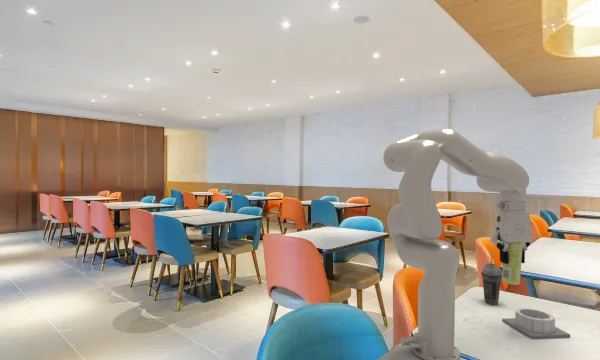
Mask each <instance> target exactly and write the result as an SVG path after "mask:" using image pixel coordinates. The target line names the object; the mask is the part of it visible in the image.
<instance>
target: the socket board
mask: <svg viewBox="0 0 600 360" xmlns="http://www.w3.org/2000/svg"><path fill="white" fill-rule="evenodd" d="M514 315H515V316H514V317H515V318H514V317H513V318H512V317H511V318H510V317H508V318H501V322H502V323H504V324H505V325H507V326H509V327H510V328H512V329H514V330H516V331H517V332H518V333H520V334H522V335H524V336H525V337H527V338H529V339H530V340H542V339H565V338H566V339H567V338H568V339H569V338H571V334H570V333H569V332H567V331H565V330H563V329H560V328H558V327H557V326H556V318H555V316H554V315H553V314H551V313H550V312H547V311H545V310H541V309H538V308H531V307H518V308H517V309H515V313H514Z"/></svg>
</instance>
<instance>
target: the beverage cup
mask: <svg viewBox="0 0 600 360" xmlns="http://www.w3.org/2000/svg"><path fill="white" fill-rule="evenodd" d="M481 279H482V286H483V287H482V288H483V298H484V299H483V300H484V304H486V305H489V306H498V305H499V299H500V290H501V282H502V270H501V268H500V266H498V265H497V264H495V263H493V251H490V263H487V264H484V266H483V267H482V269H481Z"/></svg>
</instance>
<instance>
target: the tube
mask: <svg viewBox="0 0 600 360" xmlns="http://www.w3.org/2000/svg"><path fill="white" fill-rule="evenodd" d="M503 245H504V243H503ZM522 249H523V242H521V243H509V244H508V248H507V251H508V252H509V263H508V264H505V263H502V262H501V267H502V270H501V272H502V279H501V281H502V282H503V283H505V284H508V285H512V286H513V285H515V286H519V285H520V284H521V275H522V274H521V273H522V271H521V270H522V263H521V260H522Z"/></svg>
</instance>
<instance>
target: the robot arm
mask: <svg viewBox="0 0 600 360" xmlns="http://www.w3.org/2000/svg"><path fill="white" fill-rule="evenodd" d="M441 161H443V162H444V163H446V164H448V165H449V166H451V167H452V168H454V169H455V170H456V171H458V172H460V173H461V174H463V175H467V176H473V177H476V184H477V186H478V187H479V188H480V190H482V191H485V192H490V193H498V198H499V199H498V203H496V204H495V205H496V208H498V210H497V212H496V217H495V222H494V224H495V225H494V234H493V235H492V237H491V238H490V242H491V243H492V244H493V245H494V246H495V247H496V248H497V249H498V251H499V262H500V263H501V264H502V263H505V264H508V263H509V252H508V251H507V248H508V244H509V243H521V242H523V249H522V260H521V264H525V262H526V261H525V260H526V257H525V256H526V252H527V250H528V247H530V245H531V244H532V243H533V242H534V241H535V238H534V237H533V232H532V231H533V230H532V222H531V221H532V220H531V216H530V212H529V211H527V188H528V187H529V185H530V177H529V174H528V172H527V171H526V169H525V168H524V167H523V166H522V165H520V164H519V163H518V162H517V161H515V160H513V159H511V158H509V157H506V156H503V155H500V154H498V153H494V152H492V151H488V150H485V149H481V148H479V147H477V146H476V144H474V143H472V142H471V141H470V140H468V139H467V138H465V137H464V136H463V135H462V134H460V133H459V132H457V131H456V130H454V129H451V128H439V129H432V130H425V131H421V132H418V133H416V134H413V135H409V136H407V137H406V138H402V139H399V140H397V141H395V142H392V143H391V144H389V145H388V146H386V149H385V150H384V153H383V163H384V165H385V166H386V168H387V169H388V170H389V171H392V172H396V173H403V175H402V178H401V179H400V182H399V185H398V188H397V190H398V192H397V193H398V197H399V202H400V203H397V204H395V205H394V206H392V207H391V209H389V212H388V214H387V219H386V223H387V228H388V232H389V234H390V237H391V240H392V243H393V245H394V249H395V250H396V253H397V255H398V257H399V259H400V261H401V262H402V263H403V264H404V265H406V266H408V267H411V268H413V269H417V270H421V271H422V272H424V275H423V277H422V279H421V281H420V282H419V285H418V289H417V290H418V292H417V295H418V297H417V301H418V302H417V332H414V335H413V336H411V337H401V338H400V344H401V346H408V347H409V349H411V350H412V352H413V353H414V355H415V356H417V357H418V358H420V359H422V360H460V359H461V351H460V350H459V348H458V347H457V346H455V320H456V319H455V317H456V316H455V315H456V314H455V313H456V312H455V309H456V308H455V307H456V306H455V305H456V303H455V302H456V299H455V298H456V283H457V282H456V280H457V274H458V269H459V266H460V260H461V258H460V254H459V251H458V249H457V248H456V247H455V246H454V245H453V244H452V243H450V242H447V241H445V240H442V239H441V240H440V239H438V238H440V236H441V235H442V233H443V222H442V218H441V215H440V213H439V210H438V207H437V203H436V201H435V198H434V194H433V191H432V190H433V189H432V181H433V178H434V174H435V172H436V170H437V168H438V166H439V164H440V162H441ZM503 243H504V245H503Z"/></svg>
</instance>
